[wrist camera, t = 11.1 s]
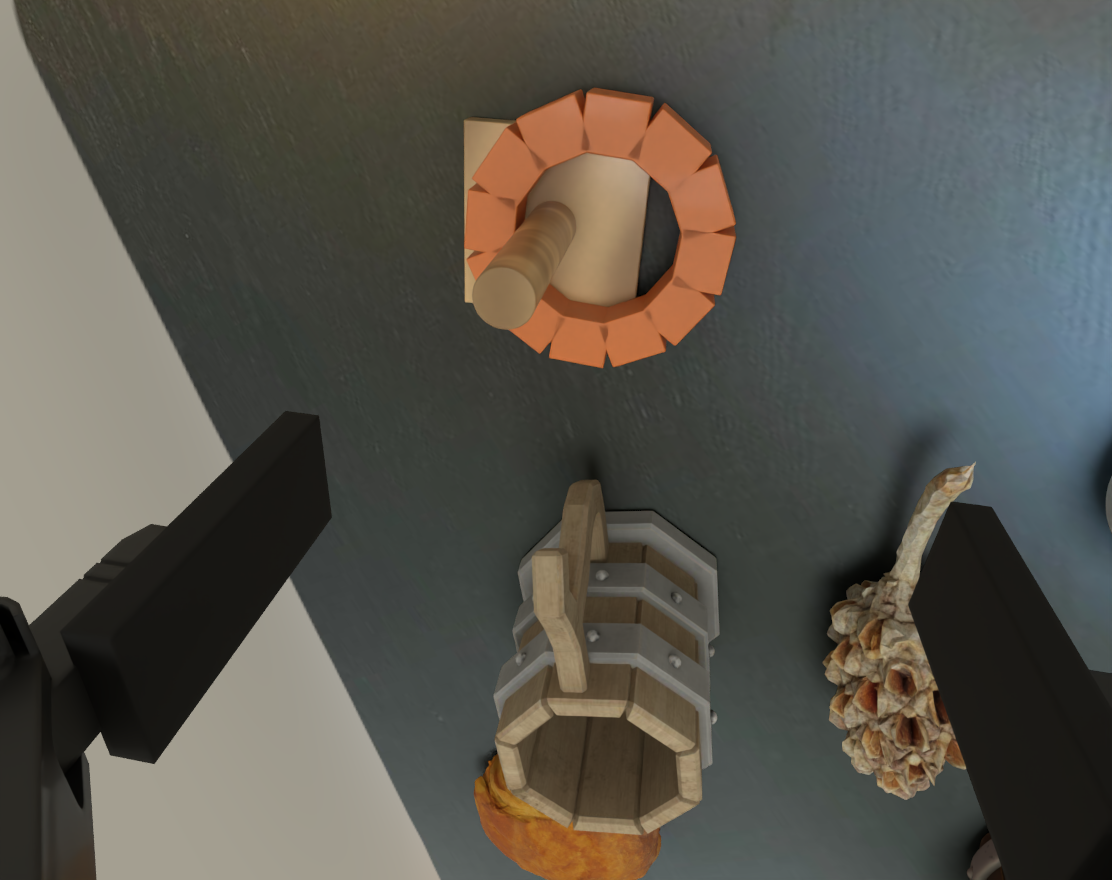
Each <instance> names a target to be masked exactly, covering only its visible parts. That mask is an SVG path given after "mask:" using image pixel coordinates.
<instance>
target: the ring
mask: <svg viewBox="0 0 1112 880" xmlns="http://www.w3.org/2000/svg"><path fill="white" fill-rule="evenodd" d="M653 102H654V98H653V97H649V96H643V95H637V94H631V93H625V92H619V91H613V90H607V89H601V88H592V89H591V90H590V91H588V92H587V93H586V99H585V97H584V94H583V91H582V90H581V89H579V90H577V91H575V92H573V93H570V94H568V95H566V96H564V97H561V98H559V99H557V100H555V101H552V102H550V103H548V104H545V105H543V106H541V107H539V108H536V109H534V110H532V111H530V112H527V113H526V114H524V115H522V116H520V117H519V118H517V119H516V122H514V123H513V124H511V125H509V126H508V127H506V128H505V130H504V131H503V132H502V134H501V135H500V137H499V138H498V140H497V141H496V143H495V144H494V146H493V147H492V149H491V150H490V152H489V153H488V155H487V156H486V158H485V159H484V161H483V162H482V164H481V165H480V166H479V168H478V169H477V171H476V172H475V174H474V175H473V177H472V179H473V180H474V181H475V182H476V184H475V185H474V186H472V187H471V188H470V189H468V196H467V211H466V226H465V241H464V248H465V249H469V250H474V252H473V253H472V254H471V255H470V256H469V257H468V258H467V259H466V261H467V263H468V265H469V267H470V270H471V272H472V274H473V276H474V278H475V280H477V278H478V277H479V276H480V274H481V273H482V272H483V271H484V270H485V268H486V267H487V266H488V265H489V263H490V262H491V261H492V260H493V259H494V257H495V256H496V255H497V254H498V252H499V251H500V250H501V249H502V248H503V246H504V245H505V244H506V243H507V241H508V240H509V239H510V238H511V236H512V235H513V234H514V233H515V232H516V230H517V229H518V228H519V227H520V225H521V224H522V223H523V222H524V221H525V213H526V204H527V196H528V194H529V193H530V192H531V190H532V189H533V188H534V186H535V185H536V184H537V182H538V181H539V179H540V178H541V177H542V175H543V174H544V173H545V171H546V170H547V169H549V168H551V167H553V166H556V165H558V164H561V163H563V162H566V161H568V160H571V159H573V158H575V157H578V156H580V155H583V154H585V153H590V154H596V155H602V156H608V157H614V158H620V159H626V160H632V161H633V162H634V163H636V164H637V165H638V166H639V167H640V168H641V169H642V170H644V171H645V172H646V173H647V174H648V175H649V176H650V177H652V178H653V179H654V180H655V181H656V182H657V183H658V184H660V185H661V186H662V187H663V188H664V189H665V190H666V191H667V192H668V194H669V197H670V201H671V204H672V207H673V210H674V213H675V216H676V219H677V222H678V225H679V229H680V235H679V239H678V244H677V248H676V253H675V257H674V262H673V265H672V266H671V267H670V268H669V269H668V270H667V272H666V273H665V274H664V275H663V276H662V277H661V278H660V279H659V280H658V281H657V283H656V284H655V285H654V286H653V287H652V288H651V289H650V290H649V291H648V292H647V294H646V295H643V296H640V297H637V298H634V299H631V300H628V301H625V302H622V303H619V304H616V305H613V306H610V307H604V306H599V305H594V304H588V303H583V302H577V301H572V300H569V299H568V298H566V297H565V296H564V295H563V294H562V293H560V292H559V291H558V290H557V289H555V288H554V287H553V286H552V285H550V284H549V285H548V287H547V289H546V291H545V293H544V295H543V296H542V298H541V300H540V302H539V304H538V306H537V308H536V310H535V312H534V313H533V315H532V317H531V318H530V320H529V321H528V322H527V323H525V324H524V325H522V326H520V327H518V328H515V329H509V330H510V331H511V332H513V333H514V334H515V335H516V336H518V337H519V338H520V339H521V340H523V341H524V342H525V343H527V344H528V345H529V346H530V347H532V348H533V349H534V350H536V351H537V352H538V353H541V352H542V351H543V350H544V349H545V347H546V346H547V345H548V344H549V343H550V342H551V348H550V355H549V357H550V358H552V359H557V360H563V361H568V362H573V363H578V364H584V365H589V366H594V367H599V368H603V366H604V362H605V358H606V354H607V353H608V356H609V358H610V361H611V364H612V366H613V367H617V366H620V365H623V364H626V363H630V362H633V361H636V360H640V359H643V358H646V357H649V356H653V355H656V354H659V353H663V352H665V351H666V341H667V340H668V341H669V342H671V343H672V344H673V345H674V346H675V345H677V344H678V343H679V342H680V341H681V340H682V339H683V338H684V337H685V336H686V335H687V334H688V332H689V331H690V330H691V329H692V328H693V327H694V326H695V325H696V324H697V323H698V322H699V321H700V320H701V319H702V318H703V317H704V316H705V315H706V314H707V313H708V312H709V311H710V310H711V309H712V308H713V307H714V306H715V299H714V294H715V295H721V294H722V290H723V286H724V282H725V278H726V274H727V271H728V267H729V263H730V259H731V255H732V252H733V248H734V244H735V240H736V234H735V229H734V225H736V221H735V216H734V212H733V208H732V205H731V201H730V198H729V194H728V191H727V187H726V184H725V180H724V177H723V173H722V170H721V166H720V163H719V159H718V156H717V155H714V156H711V157H709V156H710V155H711V153H712V151H711V144H710V143H709V142H708V141H707V140H706V139H705V138H703V137H702V136H701V135H700V134H699V133H698V132H697V131H696V130H695V129H694V128H692V127H691V126H690V125H689V124H688V123H687V122H686V121H685V120H684V119H683V118H681V117H680V116H679V115H678V114H677V113H676V112H675V111H674V110H673V109H672V108H670V107H669V106H668V105H667V104H666V103H664V104H663V105H662V106H661V108H660V109H659V110H658V111H657V113H656V114H655V115H654V116H653V118H652V119H651V113H652V108H653ZM650 119H651V120H650ZM551 340H552V341H551Z"/></svg>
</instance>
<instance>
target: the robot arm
mask: <svg viewBox="0 0 1112 880" xmlns="http://www.w3.org/2000/svg"><path fill="white" fill-rule="evenodd" d="M331 518H332V515H331V507H330V499H329V491H328V484H327V476H326V468H325V460H324V452H323V444H322V436H321V428H320V420H319V416H318V415H311V414H304V413H296V412H289V411H285V412H284V413H283V414H282V415H281V416H280V417H279V418H278V419H277V420H276V421H275V422H274V423H273V424H272V425H271V426H270V427H269V428H268V429H267V430H266V431H265V432H264V433H263V434H262V435H261V436H260V437H258V438H257V439H256V440H255V441H254V442H253V443H252V444H251V445H250V446H249V447H248V448H247V449H246V450H245V451H244V452H243V453H242V454H241V455H240V456H239V457H238V458H237V459H236V460H235V461H234V462H233V463H232V464H231V465H230V466H229V467H228V468H227V469H226V470H225V471H224V472H223V473H222V474H221V475H220V476H218V477H217V478H216V479H215V480H214V481H213V482H212V483H211V484H210V486H208V487H207V488H206V489H205V490H204V491H203V492H202V493H201V494H200V495H199V496H198V497H197V498H196V499H195V500H194V501H193V502H192V503H191V504H190V505H189V506H188V507H187V508H186V509H185V510H184V511H183V512H182V513H181V514H180V515H178V517H177V518H175V519H174V520H173V521H172V522H171V523H170V524H169V525H168V526H167V527H166V526H160V525H154V524H150V525H148V526H147V527H145V528H143V529H141V530H139V531H137V532H136V533H134V534H132V535H130V536H128V537H126V538H124V539H122V540H121V541H120V542H119V543H118V544H117V545H116V546H115V547H114V548H113V549H111V550H110V551H109V552H108V553H107V554H106V555H105V556H104V557H103V558H102V559H101V562H100V563H96V564H95V565H94V566H93V567H92V568H91V569H90V570H89V571H88V572H87V573H85V574H84V578H83V579H79V580H78V581H77V582H76V583H75V584H73V585H72V586H71V587H70V588H69V589H68V590H67V591H66V592H65V593H64V594H63V595H62V596H60V597H59V598H58V599H57V600H56V601H55V602H54V603H53V604H52V605H51V606H50V607H49V608H47V609H46V610H45V611H44V612H43V613H42V614H41V615H40V616H39V617H38V618H37V619H36V620H35V621H33V622H32V623H31V624H30V625H28V622H27V620H26V618H25V616H24V614H23V611H22V609H21V606H20V604H19V603H18V602H16V601H14V600H12V599H10V598H8V597H0V880H96V866H95V851H94V835H93V819H92V803H91V788H90V773H89V763H88V761H87V758H86V756H85V753H84V751H85V750H86V748H87V747H88V746H89V745H90V744H91V742H92V741H93V740H94V739H95V738H96V737H97V735H98V734H99V733H100V732H101V734H102V736H103V739H104V741H105V744H106V746H107V748H108V751H109V753H110V755H111V756H117V757H122V758H127V759H132V760H137V761H142V762H147V763H152V764H155V762H156V761H157V760H158V758H159V757H160V756H161V754H162V753H163V751H164V750H165V748H166V747H167V746H168V744H169V743H170V742H171V740H172V739H173V737H174V736H175V735H176V733H177V732H178V730H179V729H180V728H181V726H182V725H183V724H184V722H185V721H186V719H187V718H188V717H189V715H190V714H191V712H192V711H193V710H194V708H195V707H196V705H197V704H198V703H199V701H200V700H201V698H202V697H203V696H204V694H205V693H206V692H207V690H208V689H209V687H210V686H211V685H212V683H213V682H214V680H215V679H216V678H217V676H218V675H219V673H220V672H221V671H222V669H223V668H224V666H225V665H226V664H227V662H228V661H229V659H230V658H231V657H232V655H233V654H234V653H235V651H236V650H237V648H238V647H239V646H240V644H241V643H242V641H243V640H244V639H245V637H246V636H247V634H248V633H249V632H250V630H251V629H252V627H253V626H254V625H255V623H256V622H257V621H258V619H259V618H260V616H261V615H262V614H263V612H264V611H265V609H266V608H267V607H268V605H269V604H270V602H271V601H272V600H273V598H274V597H275V595H276V594H277V593H278V591H279V590H280V588H281V587H282V586H283V584H284V583H285V582H286V580H287V579H288V577H289V576H290V575H291V573H292V572H293V571H294V569H295V568H296V566H297V565H298V564H299V562H300V561H301V559H302V558H303V557H304V555H305V554H306V552H307V551H308V550H309V548H310V547H311V545H312V544H313V543H314V541H315V540H316V539H317V537H318V536H319V534H320V533H321V532H322V530H323V529H324V527H325V526H326V525H327V523H328V522H329V520H330V519H331ZM908 606H909V609H910V612H911V615H912V618H913V620H914V623H915V626H916V629H917V632H918V634H919V637H920V640H921V643H922V646H923V648H924V651H925V654H926V657H927V660H928V662H929V665H930V668H931V671H932V673H933V676H934V679H935V682H936V685H937V687H938V690H939V693H940V696H941V699H942V701H943V704H944V707H945V710H946V713H947V715H948V718H949V721H950V724H951V727H952V729H953V732H954V735H955V738H956V741H957V743H958V746H959V749H960V752H961V755H962V757H963V760H964V763H965V766H966V769H967V771H968V774H969V777H970V780H971V782H972V785H973V788H974V791H975V794H976V796H977V799H978V802H979V805H980V808H981V810H982V813H983V816H984V819H985V822H986V824H987V827H988V830H989V833H990V836H991V838H992V841H993V844H994V847H995V850H996V852H997V855H998V858H999V861H1000V864H1001V866H1002V869H1003V872H1004V875H1005V878H1006V880H1112V673H1106V672H1099V671H1093V670H1089V669H1088V668H1087V666H1086V664H1085V663H1084V661H1083V659H1082V657H1081V656H1080V654H1079V652H1078V651H1077V649H1076V647H1075V646H1074V644H1073V642H1072V641H1071V639H1070V637H1069V636H1068V634H1067V632H1066V631H1065V629H1064V627H1063V626H1062V624H1061V622H1060V621H1059V619H1058V617H1057V616H1056V614H1055V612H1054V611H1053V609H1052V607H1051V606H1050V604H1049V602H1048V601H1047V599H1046V597H1045V596H1044V594H1043V592H1042V591H1041V589H1040V587H1039V585H1038V584H1037V582H1036V580H1035V579H1034V577H1033V575H1032V574H1031V572H1030V570H1029V569H1028V567H1027V565H1026V564H1025V562H1024V560H1023V559H1022V557H1021V555H1020V554H1019V552H1018V550H1017V549H1016V547H1015V545H1014V544H1013V542H1012V540H1011V539H1010V537H1009V535H1008V534H1007V532H1006V530H1005V529H1004V527H1003V525H1002V524H1001V522H1000V520H999V519H998V517H997V515H996V513H995V512H994V510H993V508H992V507H988V506H981V505H973V504H966V503H959V502H950V504H949V507H948V509H947V512H946V514H945V517H944V519H943V521H942V524H941V526H940V529H939V531H938V533H937V536H936V538H935V541H934V543H933V545H932V548H931V550H930V553H929V555H928V557H927V560H926V562H925V565H924V567H923V570H922V572H921V574H920V577H919V579H918V582H917V584H916V586H915V589H914V591H913V594H912V596H911V598H910V601H909V603H908Z"/></svg>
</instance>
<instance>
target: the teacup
mask: <svg viewBox="0 0 1112 880" xmlns="http://www.w3.org/2000/svg"><path fill="white" fill-rule="evenodd" d="M1106 516H1107V521H1108V524H1109V528H1110V531H1111V533H1112V477H1111V479H1110V482H1109V484H1108V489H1107V493H1106Z"/></svg>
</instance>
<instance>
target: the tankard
mask: <svg viewBox="0 0 1112 880" xmlns="http://www.w3.org/2000/svg"><path fill="white" fill-rule="evenodd" d="M518 576H519V581H520V586H521V591H522V596H523V601H524V602H523V603H522V604H521V605H520V606H519V610H518V613H517V616H516V620H515V623H514V627H513V634H514V639H515V643H516V649H517V654H515V655H514V656H513V657H512V658H511V659H510V660H509V661H507V662H506V663H505V664H504V665H503V666H502V668H501V671H500V675H499V678H498V682H497V685H496V688H495V692H494V695H493V696H494V700H495V704H496V708H497V712H498V716H499V720H500V721H499V725H498V729H497V732H496V736H495V744H496V747H497V751H498V755H499V759H500V763H501V767H502V770H503V774H504V778H505V782H506V786H507V788H508V789H509V791H511V793H512V794H513V795H514V796H516V797H517V798H519V799H521V800H522V801H524V802H526V803H527V804H529V805H530V806H532V807H534V808H535V809H537V810H539V811H540V812H542V813H543V814H545V815H547V816H548V817H550V818H552V819H553V820H555V821H557V822H558V823H560V824H561V825H563V826H565V827H566V828H568V826H569V825H570V824H571V822H572V821H573V829H574V830H579V831H593V832H607V833H621V834H635V835H642V834H644V829H645V831H646V832H647V833H650V832H652V831H653V830H655V829H657V828H659V827H660V826H662V825H664V824H665V823H667V822H669V821H671V820H672V819H674V818H676V817H678V816H679V815H681V814H683V813H684V812H686V811H688V810H690V809H691V808H693V807H695V806H696V805H698V804H700V803H699V801H700V800H702V770H703V769H705V768H706V767H708V766H709V765H711V764H712V732H711V724H714V723H715V722H716V720H717V715H716V712H714V711H713V710H710V664H709V657H712V656H713V655H714V652H715V650H714V647H713V646H712V645H710V644H709V642H710V641H711V640H713V639H714V638H715V637H717V636H718V635H719V611H718V585H717V561H716V557H714V556H713V555H712V554H710V553H709V552H708V551H706V550H705V549H704V548H702V547H701V546H699V545H698V544H697V543H695V542H694V541H693V540H691V539H690V538H689V537H687V536H686V535H685V534H683V533H682V532H681V531H679V530H678V529H677V528H675V527H674V526H673V525H671V524H670V523H669V522H667V521H666V520H665V519H663V518H662V517H660V516H659V515H658V514H656V513H655V512H654V511H622V512H605V508H604V502H603V497H602V491H601V485H600V482H599V481H598V480H580V481H578V482H575V483H573V484H572V485H571V486H570V487H569V490H568V494H567V497H566V501H565V504H564V508H563V516H562V520H561V521H560V522H559V523H558V524H557V525H556V526H555V527H554V528H553V529H552V530H551V531H550V532H549V533H548V534H547V535H546V536H545V537H544V538H543V539H542V540H541V541H540V542H539V543H538V544H537V545H536V546H535V547H534V548H533V549H532V550H531V551H530V552H529V553H528V554H527V555H526V556H525V557H524V558H523V559H522V560H521V563H520V566H519V569H518Z"/></svg>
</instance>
